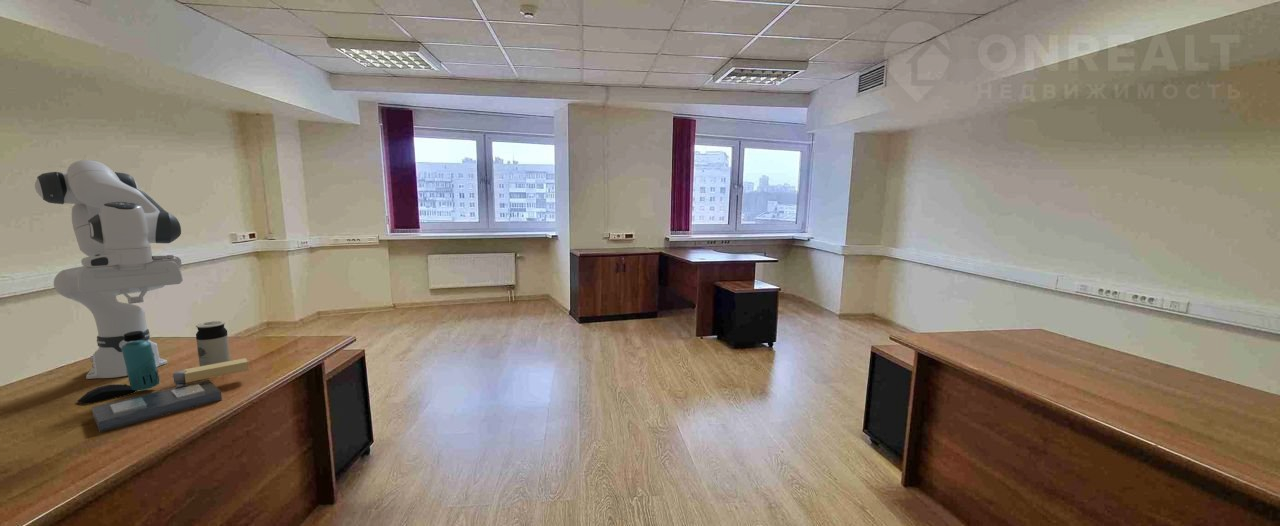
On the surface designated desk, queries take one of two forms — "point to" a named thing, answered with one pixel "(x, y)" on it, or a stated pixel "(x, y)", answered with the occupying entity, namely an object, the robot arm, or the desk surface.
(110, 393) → the gaming mouse
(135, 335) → the beverage bottle
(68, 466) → the desk surface
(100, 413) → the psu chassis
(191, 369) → the beige block
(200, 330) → the travel mug
